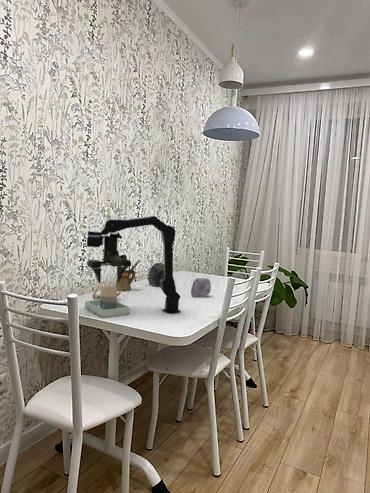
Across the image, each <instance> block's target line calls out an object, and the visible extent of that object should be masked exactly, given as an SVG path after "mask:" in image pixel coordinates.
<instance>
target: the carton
mask: <svg viewBox="0 0 370 493" xmlns="http://www.w3.org/2000/svg"><path fill="white" fill-rule="evenodd" d="M101 291H102V296H104V297H115V293H116V288H115V286H112V285H104V286H101Z"/></svg>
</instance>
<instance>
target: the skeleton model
mask: <svg viewBox="0 0 370 493" xmlns="http://www.w3.org/2000/svg"><path fill="white" fill-rule="evenodd" d="M117 289H118V287H117V288H116V293H115V296H116V297H117V298H118V296H119V295H121V293H122V291H121V290H120V291H117ZM97 291H98V290H96V289H95V291H94V292H93V294H92V296H93V298H94V300H100V296H101V295H102V290H100V294H96V293H97Z"/></svg>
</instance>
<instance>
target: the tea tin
mask: <svg viewBox="0 0 370 493" xmlns="http://www.w3.org/2000/svg"><path fill="white" fill-rule="evenodd" d="M117 302H118V296H117V297H116V296H115V297H104V296H102V295H101V296H100V309H102V310H108V309H117Z"/></svg>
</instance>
